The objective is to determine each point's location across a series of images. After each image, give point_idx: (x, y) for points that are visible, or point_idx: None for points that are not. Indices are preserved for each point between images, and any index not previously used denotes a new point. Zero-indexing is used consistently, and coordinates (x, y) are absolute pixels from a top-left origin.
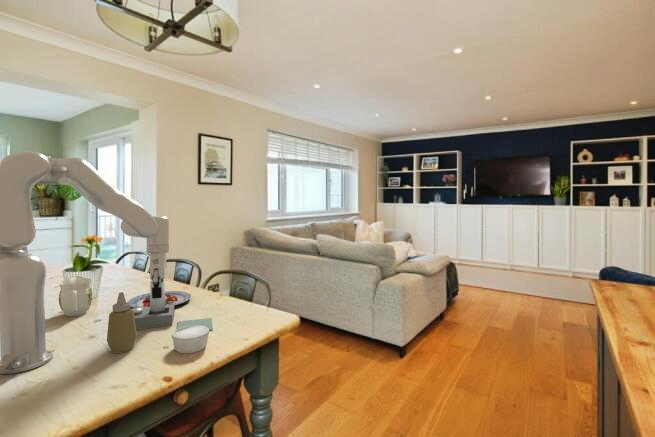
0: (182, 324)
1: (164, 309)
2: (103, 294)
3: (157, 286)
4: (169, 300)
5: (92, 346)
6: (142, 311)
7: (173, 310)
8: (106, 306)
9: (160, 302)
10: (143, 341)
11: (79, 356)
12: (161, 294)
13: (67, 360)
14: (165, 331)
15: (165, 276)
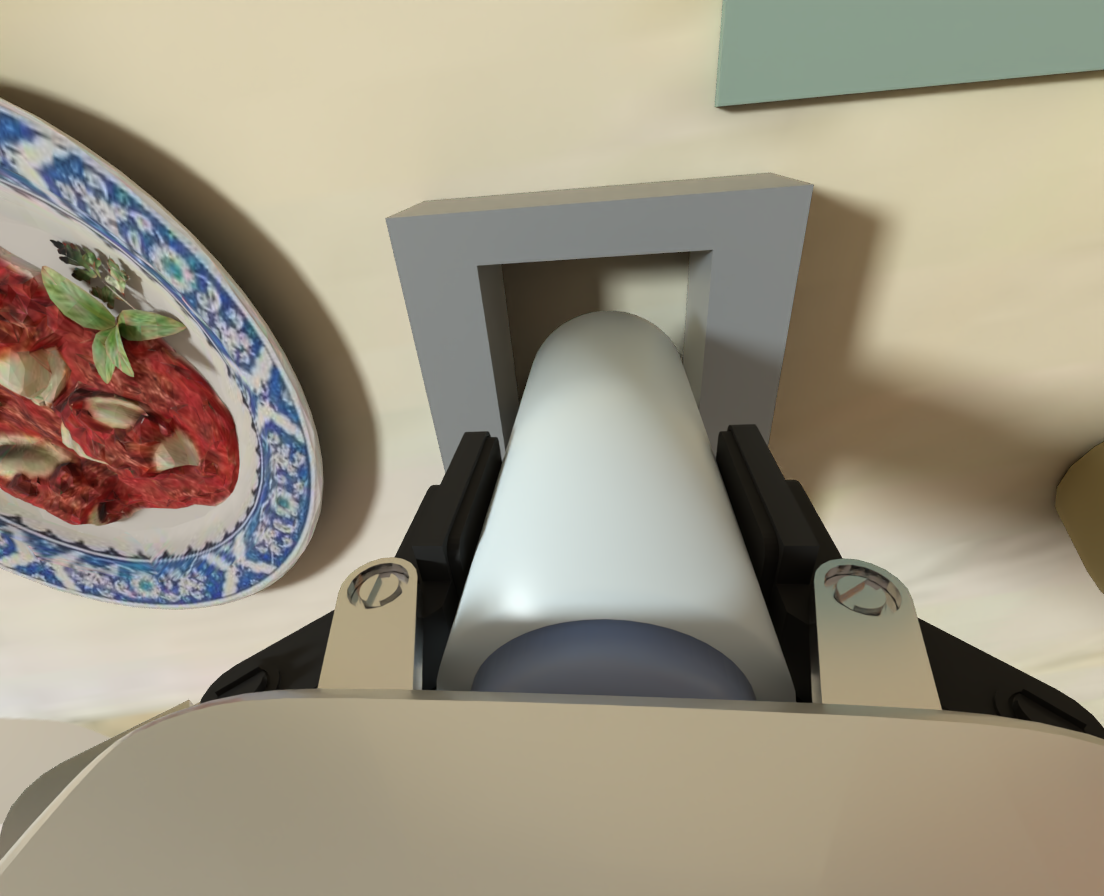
0: (864, 24)
1: (625, 312)
2: (14, 708)
3: (925, 644)
4: (36, 321)
5: (926, 616)
6: None
7: (550, 202)
8: (226, 668)
9: (690, 396)
10: (1070, 370)
11: (1047, 636)
12: (762, 449)
13: (1062, 664)
14: (931, 217)
15: (798, 761)
